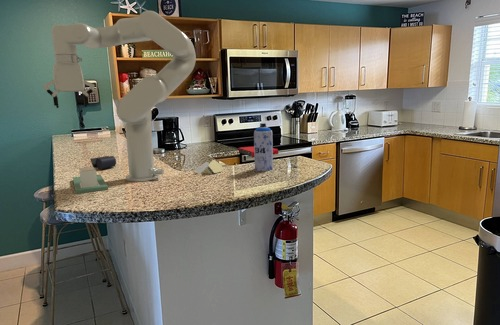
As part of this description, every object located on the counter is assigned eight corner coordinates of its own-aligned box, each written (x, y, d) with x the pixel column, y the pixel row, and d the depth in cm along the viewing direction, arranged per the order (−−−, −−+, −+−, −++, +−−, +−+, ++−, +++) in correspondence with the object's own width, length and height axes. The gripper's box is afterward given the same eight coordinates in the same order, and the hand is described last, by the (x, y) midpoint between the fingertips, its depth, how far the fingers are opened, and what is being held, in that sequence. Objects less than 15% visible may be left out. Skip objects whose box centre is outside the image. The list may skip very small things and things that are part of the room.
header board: (73, 180, 140) (72, 177, 140) (100, 177, 145) (100, 174, 145) (76, 193, 120) (76, 190, 119) (108, 189, 124) (107, 186, 124)
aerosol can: (250, 173, 145) (249, 123, 142) (259, 169, 152) (258, 122, 148) (268, 174, 141) (267, 124, 138) (276, 171, 148) (275, 122, 145)
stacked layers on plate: (208, 187, 144) (217, 180, 141) (194, 170, 144) (202, 162, 141) (220, 177, 152) (228, 170, 149) (206, 161, 152) (214, 154, 149)
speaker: (110, 166, 170) (91, 170, 163) (108, 155, 170) (89, 158, 162) (118, 166, 166) (99, 170, 159) (116, 155, 166) (97, 158, 158)
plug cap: (80, 183, 130) (79, 168, 129) (95, 181, 132) (93, 166, 131) (82, 187, 123) (80, 171, 122) (97, 185, 125) (95, 170, 124)
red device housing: (238, 157, 189) (238, 147, 188) (262, 154, 194) (262, 145, 194) (252, 162, 173) (252, 151, 172) (278, 159, 178) (278, 149, 177)
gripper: (91, 62, 140) (95, 106, 143) (40, 61, 132) (46, 108, 135) (92, 60, 133) (97, 106, 136) (39, 58, 125) (45, 108, 128)
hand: (71, 107), depth 136 cm, fingers open, 9 cm apart
